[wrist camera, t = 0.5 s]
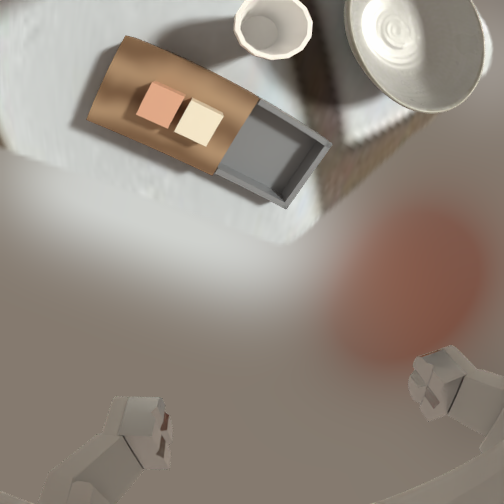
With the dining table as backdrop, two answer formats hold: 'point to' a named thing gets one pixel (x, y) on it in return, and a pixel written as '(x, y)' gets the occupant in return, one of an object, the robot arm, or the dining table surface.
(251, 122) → the box
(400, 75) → the decorative bowl
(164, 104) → the salmon orange block
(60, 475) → the robot arm
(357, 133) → the dining table surface
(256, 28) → the foam cup
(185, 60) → the walnut platform
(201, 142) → the cream block
